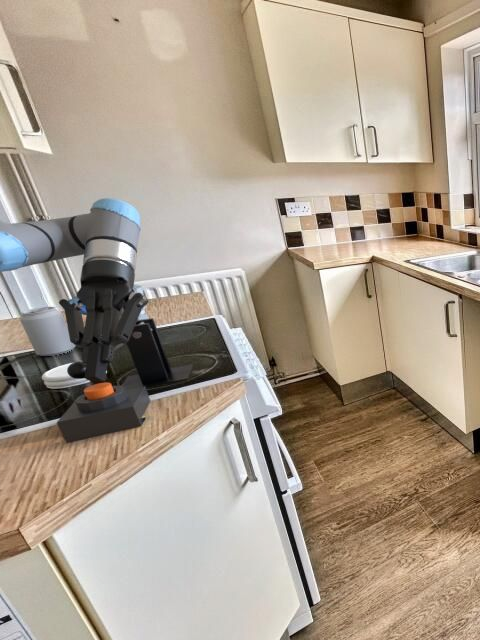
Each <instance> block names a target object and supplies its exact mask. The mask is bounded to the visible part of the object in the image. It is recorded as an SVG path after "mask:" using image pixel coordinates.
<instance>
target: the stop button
mask: <svg viewBox="0 0 480 640" xmlns="http://www.w3.org/2000/svg"><path fill="white" fill-rule="evenodd" d="M112 386H113V385H112V383H111V382H101V383H94V384H92V385H90V386H89V385H88V386H87V387H85V388H84V389H83V392H84V393H83V394H85V395H86V398H87V400H94V399H99V398H103V397H106V396H109V395H111V394H113V393H114V390H113V388H112Z"/></svg>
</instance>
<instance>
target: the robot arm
mask: <svg viewBox="0 0 480 640" xmlns="http://www.w3.org/2000/svg"><path fill="white" fill-rule="evenodd" d="M89 210H90V212H88V213H82V214H77V215H73V216H67V217H65V216H64V217H58V218H51V219H43V220H34V221H26V222H25V221H23V222H13V223H7V222H4V221H3V220H1V219H0V273H3V272H11V271H16V270H18V269H21V268H25V267H30V266H33V265H39V264H44V263H49V262H54V261H59V260H63V259H68V258H72V257H78V256H83V258H82V264H83V265H82V267H81V273H80V277H79V278H80V279H79V282H80V288H79V289H78V291H77V292H76V293H75V294H76V296H74V297H72V298H70V299H66V298H62V299H60V300H59V301H58V304H59V305H60V306H61V308H62V309H63V310H64V315H65V322H66V324H67V327H68V332H69V337H70V342H71V343H73V344H75V345H76V346H75V347H78V348H80V349H82V357H81V361H82V362H83V363H84V364H86V371H85V379H87V380H89V381H90V382H91V383H94V384H99V383H106V380H107V379H106V378H107V373H108V364H111V363H113V361H114V358H115V357H114V356H115V351H114V349H115V347H116V346H117V345H118V344H121V343H122V344H125V345H127V342H128V341H129V339H130V336H131V334H132V332H133V329H134V327H135V324H136V322H137V320H138V317H139V315H140V312H141V310H142V309H143V307H144V306H145V305H146V306H147V304H148V303H149V299H148V298H147V297H146V296H145V295H144V296H143V295H142V294H141V293H135V291H134V290H133V287H134V285H135V278H136V273H135V272H136V268H137V267H136V266H137V256H138V244H139V238H140V234H141V233H140V232H141V215H140V213H139V211H138V210H137V209H136V208H135V207H134V206H133V205H131V204H129V203H128V202H126V201H123V200H120V199H116V198H110V197H109V198H108V197H107V198H99V199H97V200H96V201H94V202H93V203H92V205H91V208H89ZM127 302H128V303H127ZM81 303H83V304H84V305H85V306H86V308H85V309H86V312H87V315H85V323H84V318H83V314H81V312H80V310H82V308H81ZM126 303H127V304H126ZM125 304H126V307H125V309H124V311H123V314H122V308H123V306H124V305H125ZM120 316H121V318H120ZM119 319H120V320H119ZM106 372H107V373H106Z"/></svg>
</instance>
